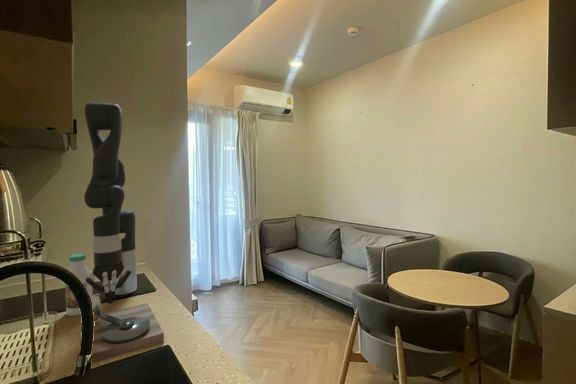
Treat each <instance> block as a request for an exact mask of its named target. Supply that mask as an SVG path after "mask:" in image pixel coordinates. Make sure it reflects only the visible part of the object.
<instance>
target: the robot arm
mask: <svg viewBox="0 0 576 384" xmlns="http://www.w3.org/2000/svg"><path fill="white" fill-rule="evenodd" d="M84 117H85V121H86V127H87V131H88V135H89V139H90V142H91V147H92V152H93V157H92V158H93V159H92V174H91V178H90V181H89V183H88V185H87V188H86V190H85V193H84V197H83V199H84V203H85V205H86V207H88V208H90V209H95V210H96V209H101V210H102V211H101V212H102V215H99V216H95V217H94V219H93V221H92V225H93V226H92V227H93V228H92V229H93V239H92V240H93V242H92V243H93V244H92V246H93V247H92V248H93V249H92V250H93V269H92V273H90V274H91V275H90V276H89V277H86V278H85V280H86V282H87V283H88V284H89V285H91V286H92V289H94V290H95V291H97V292H98V293H102V292H103V293H104V301H105V303H107V304H108V305H109V304H113V303H114V302H116V299H117V298H116V296H123V295H124V296H125V295H128V294H131V293H134V292H135V291H137V289H138V283H137V282H138V280H137V278H138V277H137V255H136V253H137V252H136V214H135V212H134V211H133V210H122V207H123V204H124V200H125V196H126V195H125V191H124V189H123V187H124V185H125V183H126V173H125V166H124V163H123V161H122V160H121V157H119V152H120V145H121V141H122V132H123V127H124V125H123V123H124V118H123V112H122V109H121V107H120V105H119V104H117V103H107V102H106V103H105V102H87V103H85V106H84ZM101 131H110V132H109V134H108V136H107V137H106V138H105V139H104V137H103V135H102V132H101ZM121 234H125V235H124V236H123V238H121ZM95 277H96V278H97V279H98V280H99V281H100V282H101V283H102V285H103V286H102V285H100V284H98V283H97V282H96V278H95Z"/></svg>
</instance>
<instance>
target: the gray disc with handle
mask: <svg viewBox="0 0 576 384" xmlns="http://www.w3.org/2000/svg"><path fill="white" fill-rule="evenodd" d="M101 295H102V294H101V293H95V294H93V295H92V296H91V298H92V307H93V312H94V314H93V315H94V316H95V317H97V318H100V319H103V320H105V321H108V322H110V323H111V324H109V325H107V326H106V327H105V328H104V329H103V331H102V339H103V341H105V342H107V343H124V342H128V341H132V340H135V339H137V338H139V337H141V336H143V335H144V334H146V333H147V332H148V331H149V329H150V321H149V319H147V318H145V317H129V318H124V319H118V318H115V317H113V316H110V315H107V314H105V313H106V312H102V296H101Z"/></svg>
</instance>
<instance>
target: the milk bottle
mask: <svg viewBox="0 0 576 384" xmlns="http://www.w3.org/2000/svg"><path fill="white" fill-rule="evenodd" d="M86 257H87V256H86V254H85V253H79V254H78V253H76V254H72V255H70V256H69V257H68V258H69V259H68V260H69V261H68V262H69V264H70V265H69V269H68V271H71V272H72V273H74V274H75V275H76V276H77V277H78V278H79V279H80V280H81V281H82V283H83V284H84V286H85V288H86V290H87V292H88V294H89V296H90V299H91V302H92V298H91V296H92V295H94V294H93V293H94V292H93V287H92V286H91V285H89V284H88V283H87V282H86V280H85V278H86V277H89V276H90V275H91V274H92V273H91V272H90V270H89V269H88V267H87V264H86V261H87V260H86ZM64 287H65V288H64V289H65V290H64V291H65V295H64V296H65V311H66V315H67V316H69V317H77V316H81V315H80V310H79V307H78V304H77V301H76V299H75V297H74V295H73V293H72V292H71V290H70V289H69V288H68V286H67V285H66V284H65V283H64Z"/></svg>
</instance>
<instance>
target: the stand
mask: <svg viewBox="0 0 576 384" xmlns="http://www.w3.org/2000/svg"><path fill="white" fill-rule="evenodd" d="M153 312H154V311H153V310H152V308H151V307H150V305H149V303H142V304H138V305H134V306H130V307H126V308H122V309H121V308H120V309H117V310H113V311H112V310H111V311H108V312H104V313H105V314H107V315H110V316H113V317H115V318H118V319H124V318H129V317H145V318H147V319H149V321H150V329H149V331H148V332H147V333H146V334H144V335H143V336H141V337H139V338H137V339H135V340H132V341H128V342H124V343H107V342H105V341H103V339H102V331H103V329H104V328H105V327H106V326H107V325H109V324H111V323H110V322H108V321H105V320H103V319H100V318H97V317H95V316H94V321H95V326H94V341H93V347H92V364H95V363H99V362H102V361H106V360H107V359H108V360H109V359H111V358H114V357H117V356H121V355H124V354H127V353H131V352H134V351H137V350H140V349H143V348H148V347H149V346H153V345H157V344H160V343H164V341H165V336H164V335H165V334H164V330H163V329H162V327H161V324H160V323H159V321H158V320H157V318H156V316H155V314H154V313H153Z"/></svg>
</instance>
